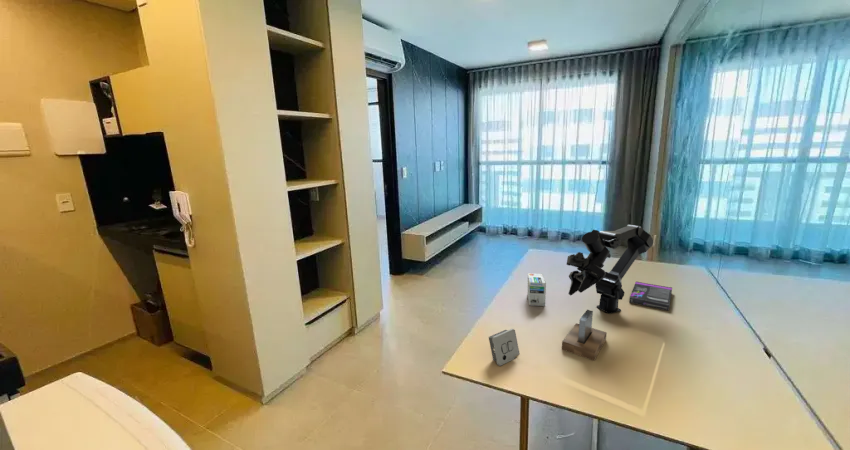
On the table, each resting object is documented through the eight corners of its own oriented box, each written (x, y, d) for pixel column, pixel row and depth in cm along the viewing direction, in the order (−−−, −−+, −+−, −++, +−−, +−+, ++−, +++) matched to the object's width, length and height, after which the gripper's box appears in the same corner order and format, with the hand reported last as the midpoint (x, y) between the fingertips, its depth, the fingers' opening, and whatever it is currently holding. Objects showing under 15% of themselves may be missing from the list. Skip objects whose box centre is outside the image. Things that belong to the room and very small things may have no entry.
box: (634, 288, 157) (628, 303, 142) (635, 281, 156) (629, 295, 141) (671, 294, 148) (668, 312, 133) (672, 287, 147) (669, 304, 133)
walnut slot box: (575, 333, 122) (576, 323, 121) (605, 342, 115) (606, 332, 114) (561, 351, 111) (562, 341, 110) (593, 363, 105) (594, 352, 104)
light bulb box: (545, 306, 142) (546, 283, 139) (529, 305, 143) (529, 282, 141) (542, 295, 152) (543, 273, 149) (526, 294, 153) (527, 272, 151)
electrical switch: (499, 367, 105) (497, 340, 104) (488, 360, 110) (486, 333, 108) (520, 356, 110) (518, 330, 109) (509, 350, 114) (507, 325, 113)
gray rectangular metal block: (585, 338, 117) (587, 309, 114) (590, 340, 115) (592, 311, 113) (577, 349, 111) (579, 319, 108) (583, 351, 110) (585, 321, 107)
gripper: (567, 252, 136) (547, 283, 132) (586, 240, 118) (564, 276, 115) (592, 269, 133) (572, 300, 130) (615, 259, 116) (593, 295, 112)
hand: (574, 293), depth 122 cm, fingers open, 9 cm apart
